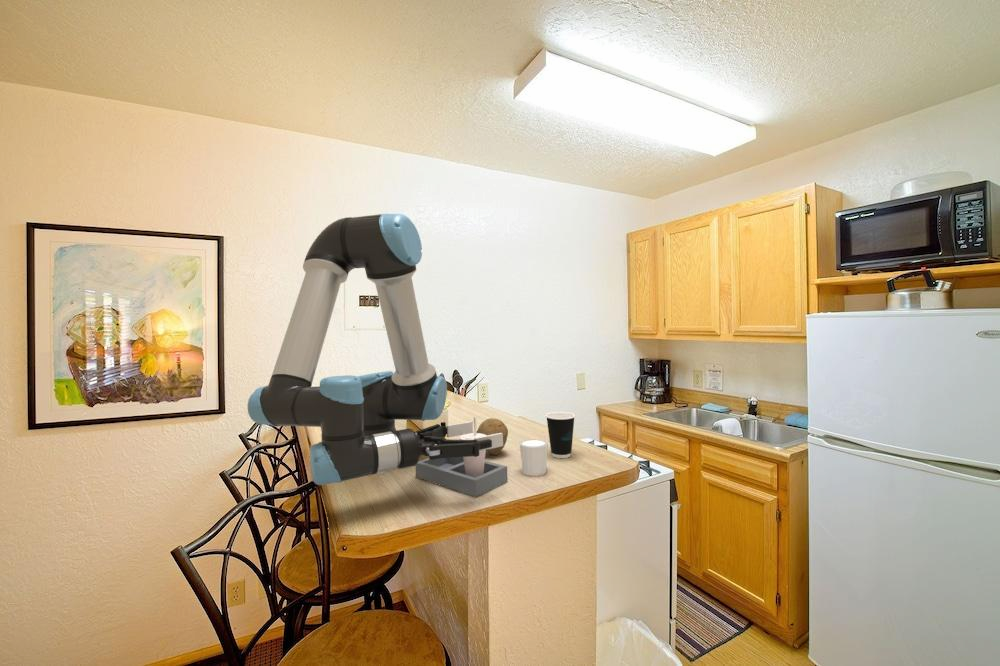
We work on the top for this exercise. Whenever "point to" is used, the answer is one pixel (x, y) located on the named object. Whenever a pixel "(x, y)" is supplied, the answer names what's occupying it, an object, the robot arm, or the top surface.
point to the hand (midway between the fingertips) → (486, 432)
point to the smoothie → (471, 463)
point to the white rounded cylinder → (534, 457)
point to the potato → (494, 432)
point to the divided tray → (461, 475)
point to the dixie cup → (560, 433)
